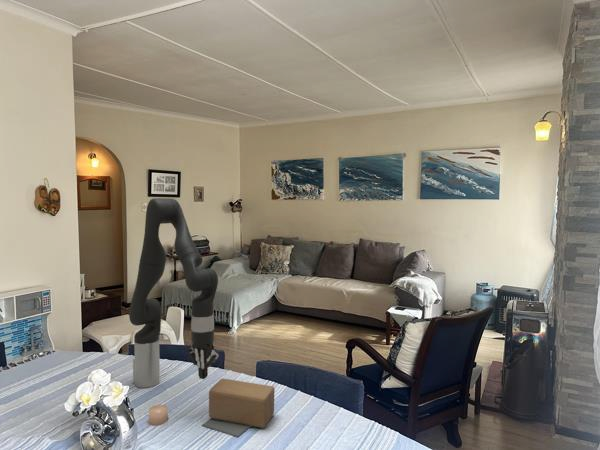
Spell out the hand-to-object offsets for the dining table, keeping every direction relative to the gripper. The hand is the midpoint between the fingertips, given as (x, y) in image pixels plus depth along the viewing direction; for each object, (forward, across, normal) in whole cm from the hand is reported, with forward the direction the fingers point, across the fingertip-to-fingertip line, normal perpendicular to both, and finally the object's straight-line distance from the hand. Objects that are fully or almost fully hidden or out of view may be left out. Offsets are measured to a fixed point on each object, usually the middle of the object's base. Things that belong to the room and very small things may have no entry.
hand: (203, 378), depth 145 cm
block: (+6, +4, +1) cm, 8 cm away
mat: (+12, +12, 0) cm, 17 cm away
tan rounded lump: (+12, -10, -11) cm, 19 cm away
